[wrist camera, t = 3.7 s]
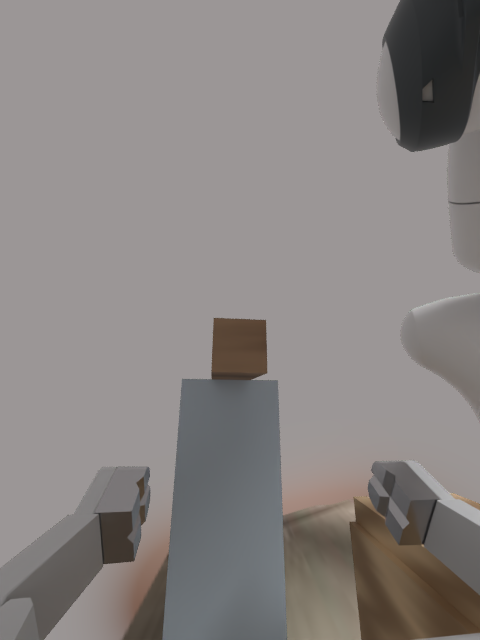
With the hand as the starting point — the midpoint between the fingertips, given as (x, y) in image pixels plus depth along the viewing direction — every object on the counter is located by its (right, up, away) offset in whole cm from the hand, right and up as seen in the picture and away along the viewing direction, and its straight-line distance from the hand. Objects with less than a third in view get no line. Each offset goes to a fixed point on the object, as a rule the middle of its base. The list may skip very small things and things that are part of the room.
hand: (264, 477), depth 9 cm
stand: (-3, -28, +17) cm, 33 cm away
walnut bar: (-2, -1, +18) cm, 18 cm away
